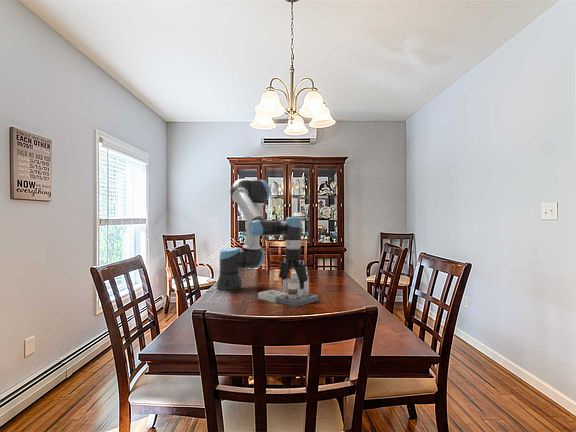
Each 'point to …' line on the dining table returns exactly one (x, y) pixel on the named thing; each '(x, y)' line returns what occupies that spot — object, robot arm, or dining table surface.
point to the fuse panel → (298, 300)
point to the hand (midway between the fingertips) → (292, 293)
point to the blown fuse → (292, 288)
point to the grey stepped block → (294, 275)
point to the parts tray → (271, 295)
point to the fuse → (306, 288)
